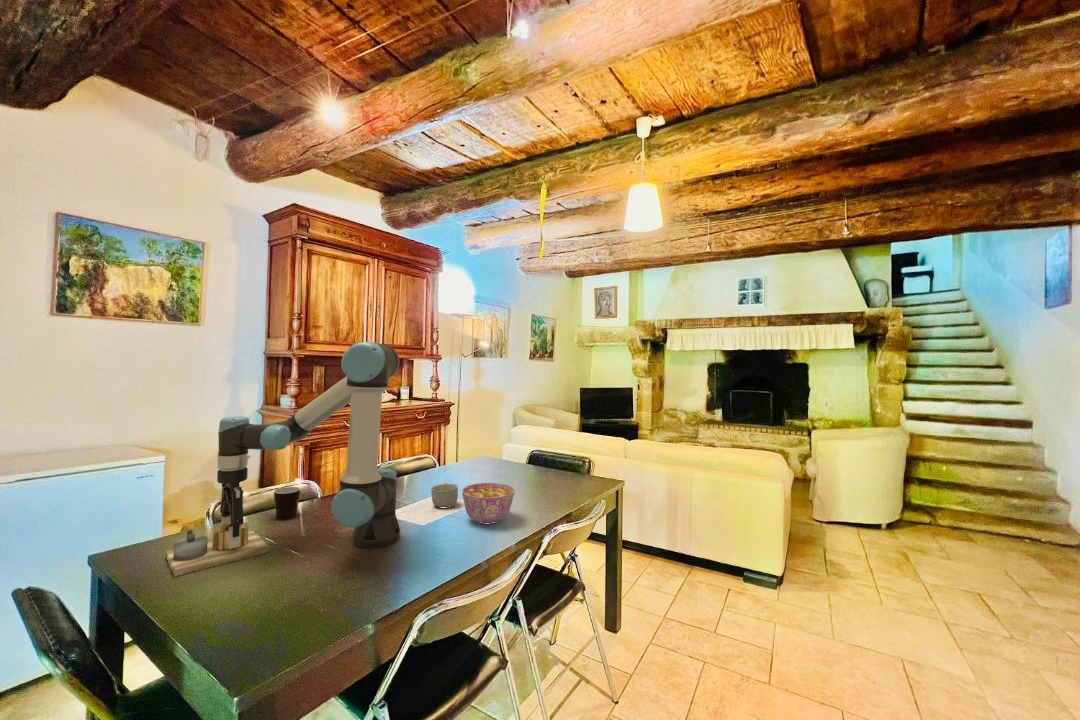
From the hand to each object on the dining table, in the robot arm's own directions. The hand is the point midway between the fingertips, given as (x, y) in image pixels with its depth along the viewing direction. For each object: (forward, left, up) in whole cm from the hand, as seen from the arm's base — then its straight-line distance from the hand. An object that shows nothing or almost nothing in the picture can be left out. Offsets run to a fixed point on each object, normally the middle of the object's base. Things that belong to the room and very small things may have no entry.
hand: (230, 542), depth 132 cm
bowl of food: (-33, -74, -3) cm, 81 cm away
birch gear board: (0, +3, -3) cm, 4 cm away
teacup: (-7, -73, -3) cm, 73 cm away
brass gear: (0, 0, 0) cm, 0 cm away
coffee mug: (+22, -23, -3) cm, 32 cm away
